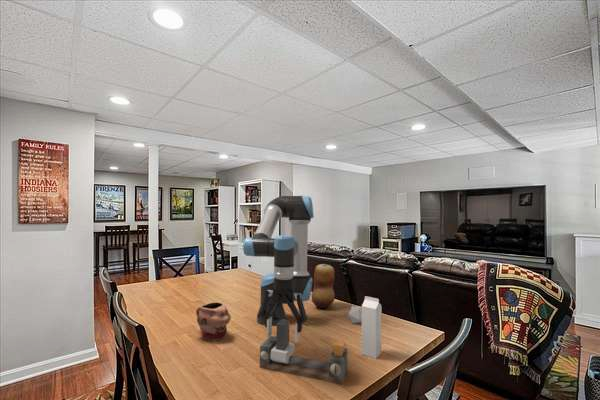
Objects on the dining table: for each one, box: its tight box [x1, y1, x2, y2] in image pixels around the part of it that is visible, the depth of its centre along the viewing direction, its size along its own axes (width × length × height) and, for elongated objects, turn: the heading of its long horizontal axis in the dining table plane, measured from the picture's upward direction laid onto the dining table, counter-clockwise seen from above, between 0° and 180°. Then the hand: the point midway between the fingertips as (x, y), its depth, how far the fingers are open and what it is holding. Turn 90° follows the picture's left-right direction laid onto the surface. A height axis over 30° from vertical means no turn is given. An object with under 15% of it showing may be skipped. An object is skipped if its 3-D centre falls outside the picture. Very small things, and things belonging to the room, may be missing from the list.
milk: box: [361, 295, 383, 360], centre depth 114 cm, size 6×6×22 cm
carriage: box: [271, 319, 295, 364], centre depth 105 cm, size 6×8×13 cm
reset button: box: [331, 339, 347, 356], centre depth 98 cm, size 4×4×4 cm
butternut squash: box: [310, 263, 335, 309], centre depth 169 cm, size 14×13×25 cm
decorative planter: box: [195, 302, 232, 341], centre depth 128 cm, size 20×12×14 cm, turn 65°
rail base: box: [259, 335, 348, 385], centre depth 102 cm, size 30×10×8 cm, turn 71°
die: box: [348, 305, 362, 324], centre depth 146 cm, size 8×9×10 cm
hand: (282, 338), depth 105 cm, fingers open, 10 cm apart
